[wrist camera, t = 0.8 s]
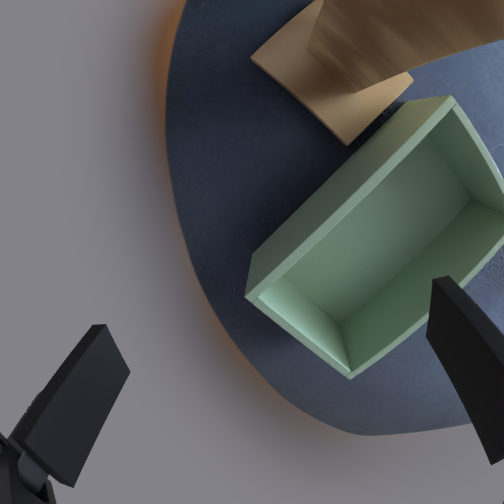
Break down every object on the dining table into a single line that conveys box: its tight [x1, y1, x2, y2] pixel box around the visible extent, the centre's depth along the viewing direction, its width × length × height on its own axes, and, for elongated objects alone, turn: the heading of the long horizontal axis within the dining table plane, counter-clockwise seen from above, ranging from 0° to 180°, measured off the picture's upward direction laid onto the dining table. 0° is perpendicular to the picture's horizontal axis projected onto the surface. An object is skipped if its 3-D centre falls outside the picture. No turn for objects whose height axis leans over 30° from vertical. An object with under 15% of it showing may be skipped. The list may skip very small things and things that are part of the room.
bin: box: [244, 95, 504, 380], centre depth 26 cm, size 14×23×9 cm, turn 138°
